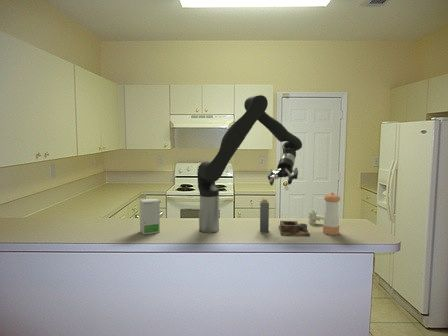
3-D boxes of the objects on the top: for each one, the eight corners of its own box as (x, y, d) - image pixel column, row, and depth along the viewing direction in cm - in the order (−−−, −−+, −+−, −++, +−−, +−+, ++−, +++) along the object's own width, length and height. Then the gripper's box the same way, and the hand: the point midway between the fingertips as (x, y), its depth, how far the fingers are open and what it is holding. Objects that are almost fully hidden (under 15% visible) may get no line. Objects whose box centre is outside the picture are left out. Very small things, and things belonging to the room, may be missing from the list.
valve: (308, 225, 162) (333, 226, 160) (309, 212, 162) (333, 213, 160) (307, 221, 169) (331, 222, 167) (307, 209, 168) (331, 210, 166)
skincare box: (143, 235, 147) (141, 202, 145) (139, 231, 153) (138, 199, 151) (160, 232, 151) (159, 200, 149) (156, 228, 157) (156, 197, 155)
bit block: (280, 235, 147) (281, 226, 146) (278, 227, 159) (278, 219, 158) (309, 235, 146) (309, 227, 145) (305, 228, 157) (305, 220, 157)
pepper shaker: (335, 236, 146) (336, 195, 143) (320, 232, 150) (321, 192, 148) (341, 232, 151) (343, 192, 149) (326, 229, 156) (328, 190, 154)
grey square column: (260, 231, 151) (260, 199, 150) (259, 229, 155) (260, 198, 154) (268, 232, 151) (269, 200, 149) (268, 229, 155) (268, 198, 153)
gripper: (271, 158, 162) (263, 178, 150) (298, 156, 156) (293, 176, 144) (274, 170, 166) (267, 190, 154) (301, 168, 160) (296, 189, 148)
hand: (279, 183), depth 149 cm, fingers open, 8 cm apart
